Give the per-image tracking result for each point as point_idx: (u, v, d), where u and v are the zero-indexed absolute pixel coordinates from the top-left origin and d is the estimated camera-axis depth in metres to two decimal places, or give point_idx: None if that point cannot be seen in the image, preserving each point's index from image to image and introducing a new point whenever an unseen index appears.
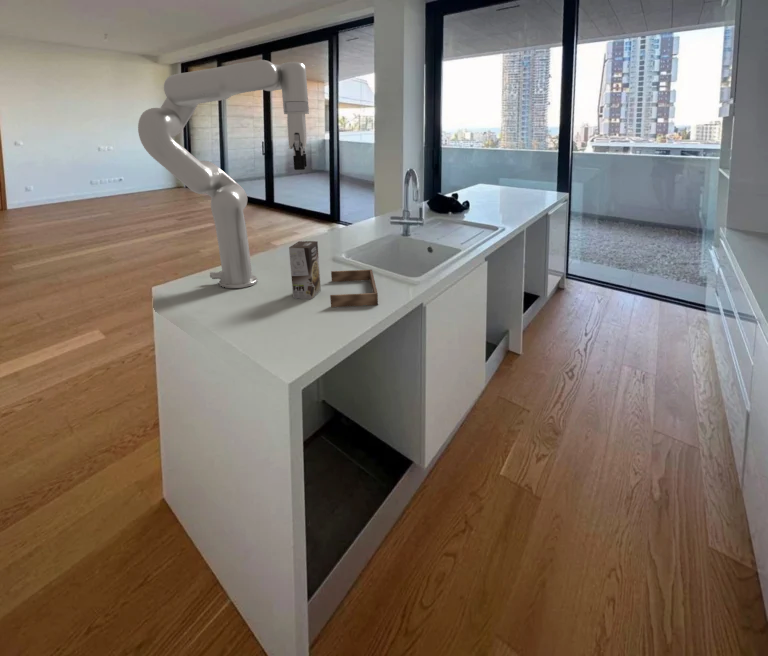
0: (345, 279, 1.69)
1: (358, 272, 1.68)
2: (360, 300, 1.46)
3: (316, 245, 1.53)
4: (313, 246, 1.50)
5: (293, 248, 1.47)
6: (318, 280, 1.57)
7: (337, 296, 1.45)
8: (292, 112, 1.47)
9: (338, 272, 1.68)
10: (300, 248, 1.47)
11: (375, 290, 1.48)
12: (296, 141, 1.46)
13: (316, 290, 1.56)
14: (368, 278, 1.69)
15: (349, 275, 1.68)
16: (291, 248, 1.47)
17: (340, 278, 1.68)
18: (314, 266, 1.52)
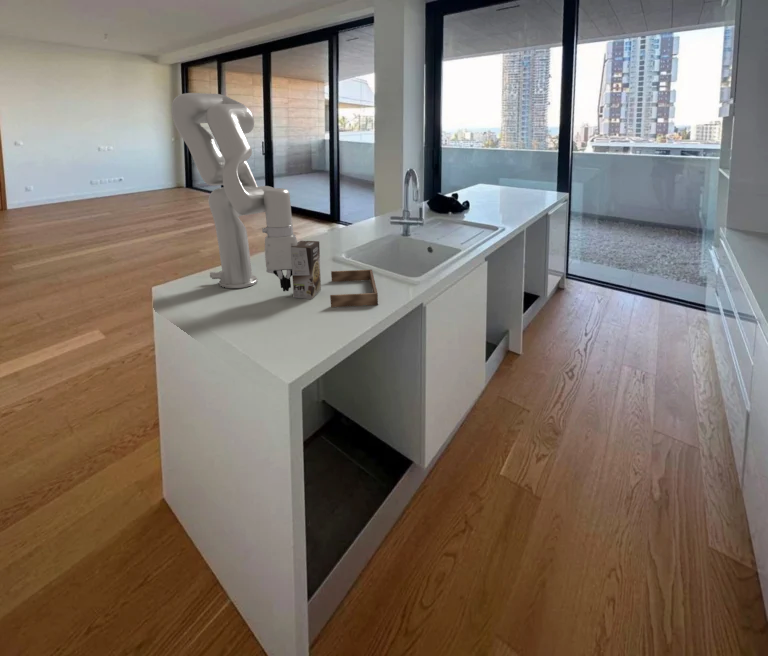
0: (345, 279, 1.69)
1: (358, 272, 1.68)
2: (360, 300, 1.46)
3: (318, 245, 1.53)
4: (315, 246, 1.50)
5: (295, 247, 1.47)
6: (319, 280, 1.57)
7: (337, 296, 1.45)
8: (292, 235, 1.49)
9: (338, 272, 1.68)
10: (302, 248, 1.47)
11: (375, 290, 1.48)
12: None
13: (317, 289, 1.56)
14: (368, 278, 1.69)
15: (349, 275, 1.68)
16: (293, 247, 1.47)
17: (340, 278, 1.68)
18: (315, 266, 1.52)
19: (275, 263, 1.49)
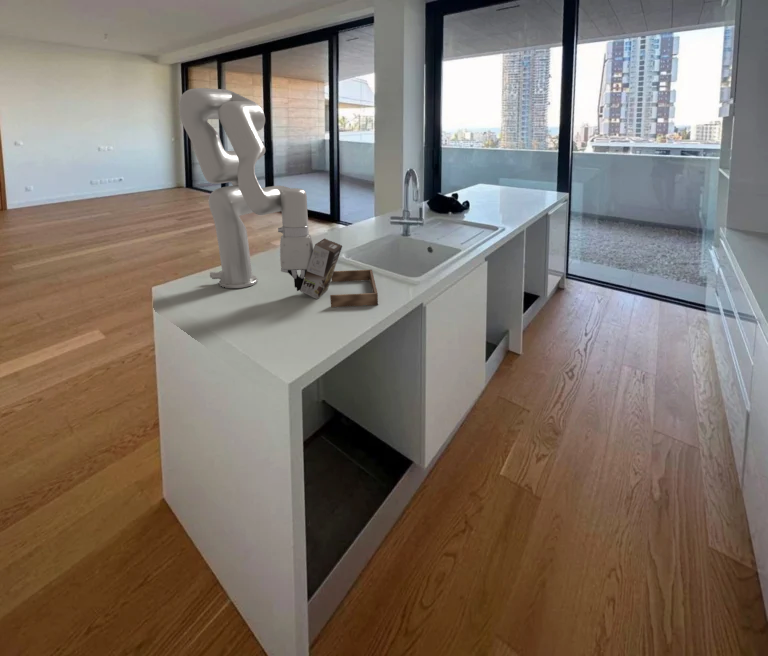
0: (345, 279, 1.69)
1: (358, 272, 1.68)
2: (360, 300, 1.46)
3: (340, 249, 1.53)
4: (337, 251, 1.50)
5: (319, 247, 1.46)
6: (329, 281, 1.57)
7: (337, 296, 1.45)
8: (308, 235, 1.49)
9: (338, 272, 1.68)
10: (325, 250, 1.46)
11: (375, 290, 1.48)
12: None
13: (324, 290, 1.56)
14: (368, 278, 1.69)
15: (349, 275, 1.68)
16: (317, 246, 1.46)
17: (340, 278, 1.68)
18: (331, 269, 1.52)
19: (290, 263, 1.50)
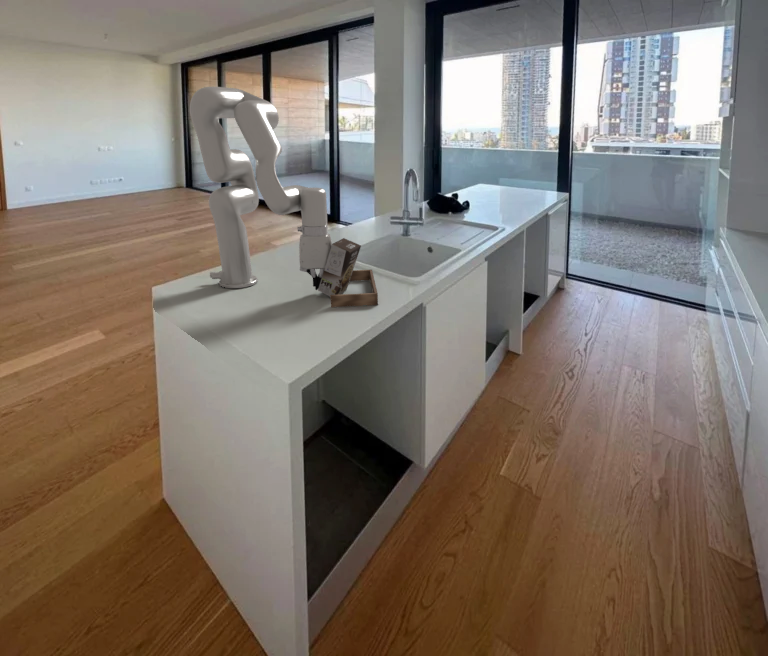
0: None
1: (358, 272, 1.68)
2: (360, 300, 1.46)
3: (358, 249, 1.52)
4: (355, 250, 1.49)
5: (336, 246, 1.46)
6: (347, 281, 1.56)
7: (337, 296, 1.45)
8: (327, 234, 1.49)
9: None
10: (342, 249, 1.45)
11: (375, 290, 1.48)
12: None
13: (342, 290, 1.56)
14: (368, 278, 1.69)
15: None
16: (334, 245, 1.46)
17: None
18: (349, 268, 1.51)
19: (309, 262, 1.50)
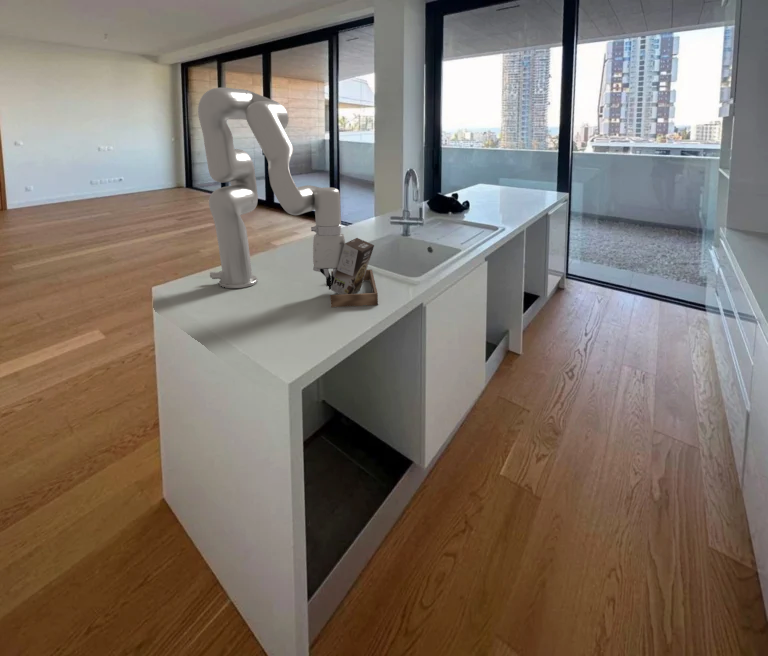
0: None
1: None
2: (360, 300, 1.46)
3: (371, 249, 1.51)
4: (368, 250, 1.49)
5: (348, 246, 1.46)
6: (361, 281, 1.56)
7: (337, 296, 1.45)
8: (340, 234, 1.50)
9: None
10: (354, 249, 1.45)
11: (375, 290, 1.48)
12: None
13: (355, 290, 1.55)
14: (368, 278, 1.69)
15: None
16: (346, 245, 1.46)
17: None
18: (362, 268, 1.51)
19: (323, 262, 1.51)
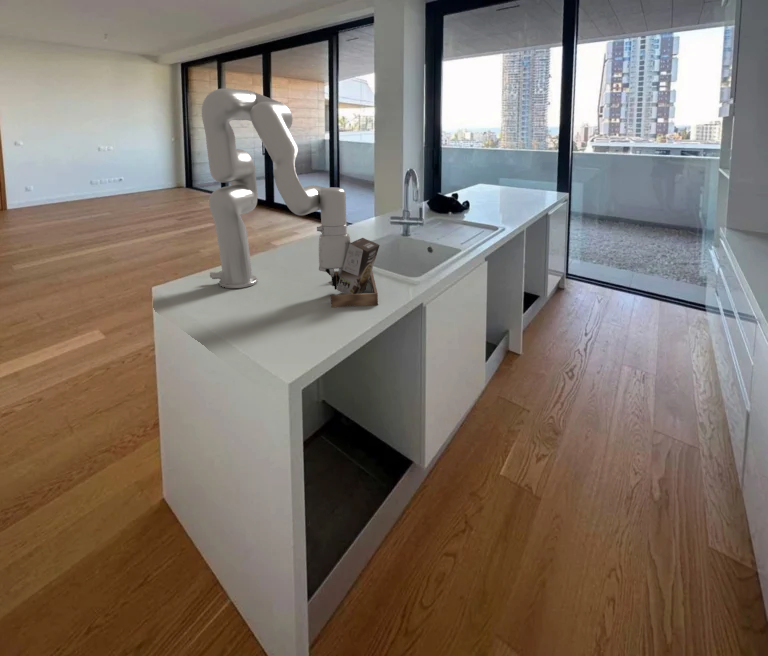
0: None
1: None
2: (360, 300, 1.46)
3: (377, 248, 1.51)
4: (373, 250, 1.48)
5: (353, 246, 1.46)
6: (366, 281, 1.56)
7: (337, 296, 1.45)
8: (346, 234, 1.50)
9: None
10: (359, 248, 1.45)
11: (375, 290, 1.48)
12: None
13: (361, 290, 1.55)
14: None
15: None
16: (351, 245, 1.46)
17: None
18: (367, 268, 1.51)
19: (328, 261, 1.51)
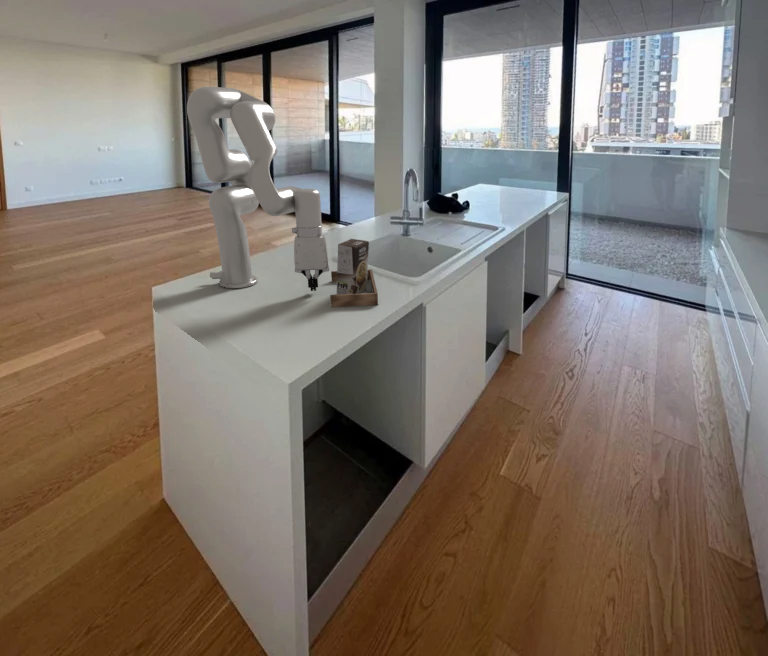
0: None
1: None
2: (360, 300, 1.46)
3: (367, 245, 1.52)
4: (362, 246, 1.50)
5: (342, 246, 1.48)
6: (364, 280, 1.56)
7: (337, 296, 1.45)
8: (321, 235, 1.50)
9: None
10: (348, 247, 1.47)
11: (375, 290, 1.48)
12: None
13: (361, 289, 1.56)
14: (368, 278, 1.69)
15: None
16: (340, 245, 1.48)
17: None
18: (361, 265, 1.52)
19: (304, 263, 1.50)
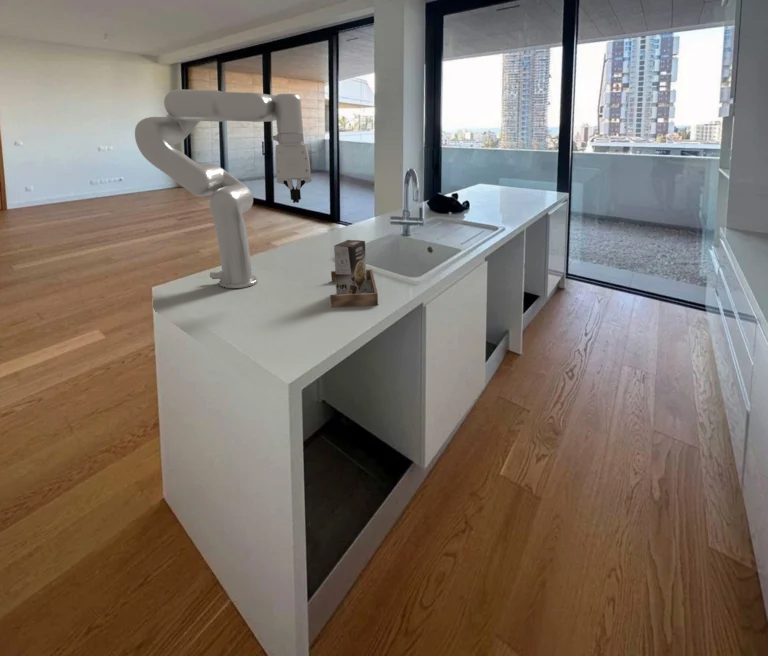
0: None
1: None
2: (360, 300, 1.46)
3: (363, 245, 1.53)
4: (359, 245, 1.50)
5: (338, 246, 1.48)
6: (363, 280, 1.56)
7: (337, 296, 1.45)
8: (303, 143, 1.48)
9: None
10: (344, 247, 1.47)
11: (375, 290, 1.48)
12: (311, 180, 1.53)
13: (360, 289, 1.56)
14: (368, 278, 1.69)
15: None
16: (336, 246, 1.49)
17: None
18: (359, 265, 1.52)
19: (286, 172, 1.49)
